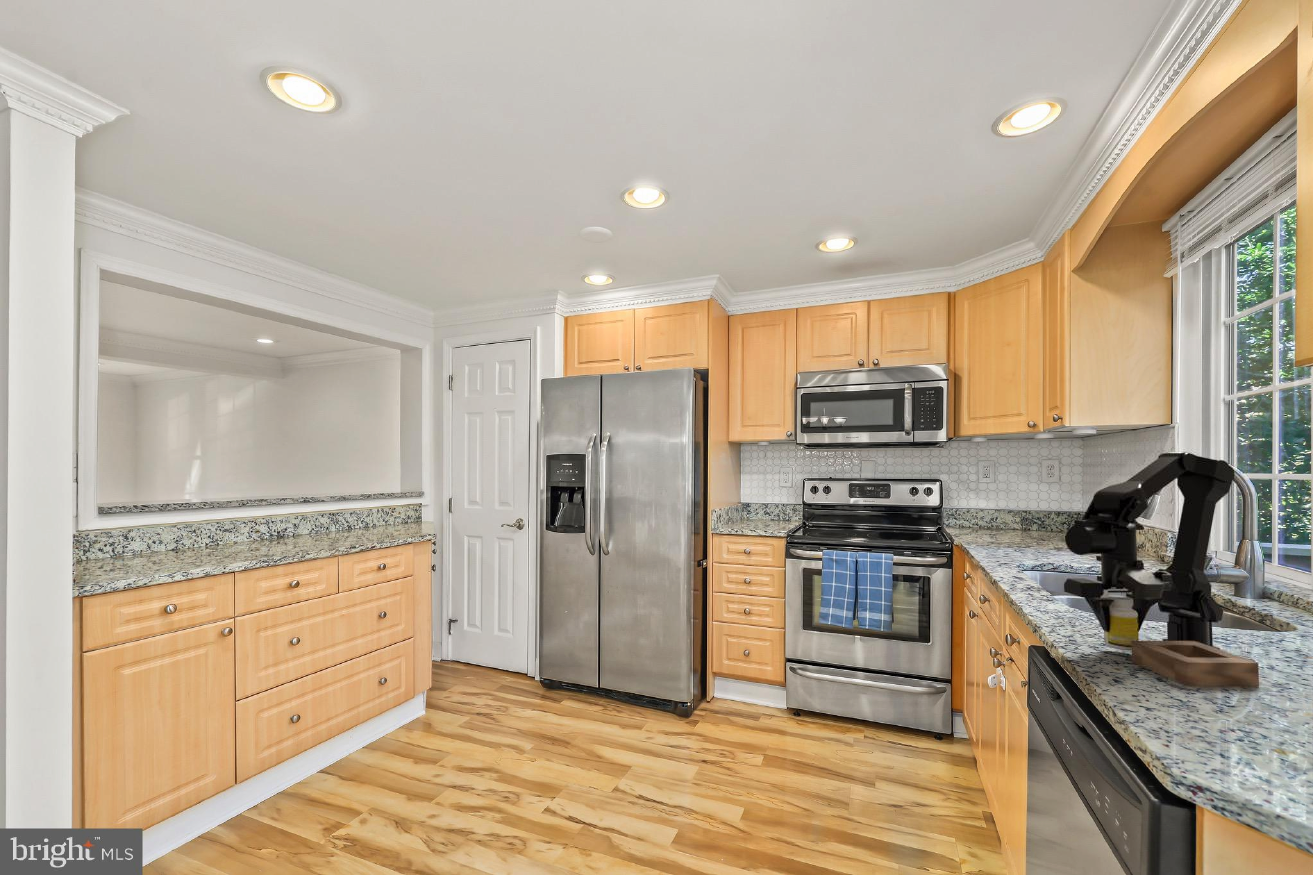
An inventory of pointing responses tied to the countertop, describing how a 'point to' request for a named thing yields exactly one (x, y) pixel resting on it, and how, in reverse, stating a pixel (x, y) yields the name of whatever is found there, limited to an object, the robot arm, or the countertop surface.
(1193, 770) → the countertop surface
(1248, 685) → the socket block
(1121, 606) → the supplement bottle
